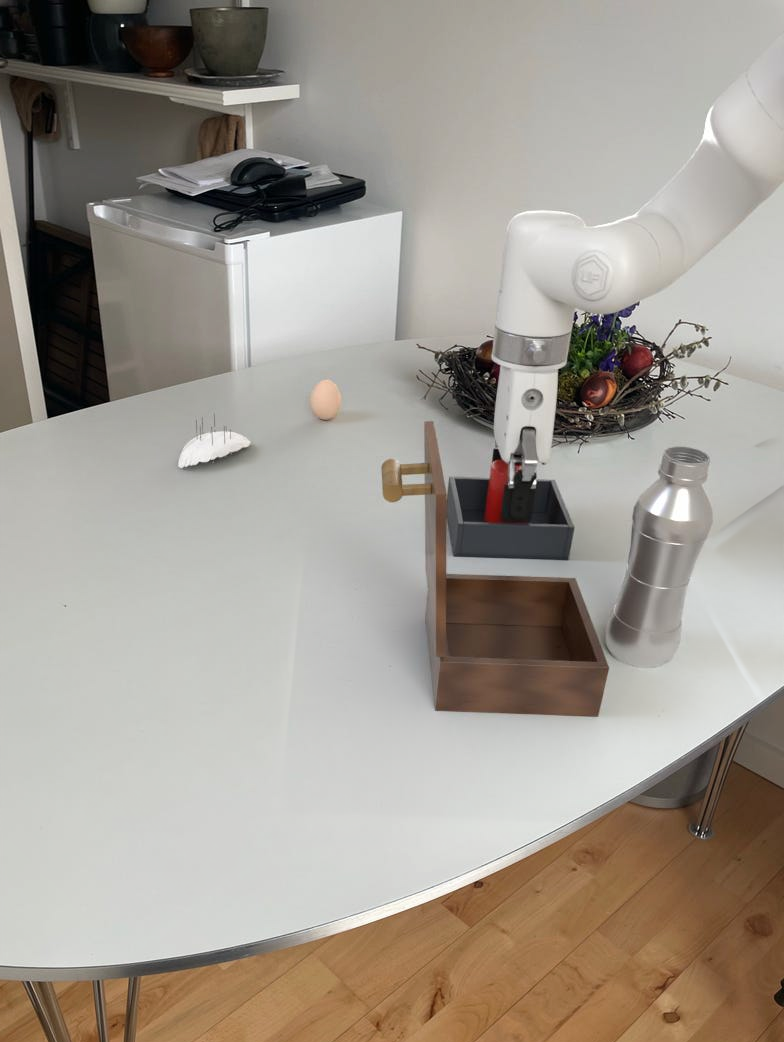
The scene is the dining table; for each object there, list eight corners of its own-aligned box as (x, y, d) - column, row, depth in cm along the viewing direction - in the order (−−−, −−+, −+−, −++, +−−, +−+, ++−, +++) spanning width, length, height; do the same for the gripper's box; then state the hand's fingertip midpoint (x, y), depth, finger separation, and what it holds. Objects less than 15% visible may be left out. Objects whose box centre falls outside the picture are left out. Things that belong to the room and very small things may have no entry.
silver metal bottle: (652, 635, 93) (702, 437, 82) (687, 675, 87) (746, 469, 76) (588, 640, 92) (630, 441, 81) (620, 682, 86) (669, 474, 75)
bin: (549, 514, 114) (554, 479, 112) (567, 564, 104) (574, 527, 102) (445, 511, 115) (449, 476, 112) (454, 561, 105) (458, 523, 102)
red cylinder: (520, 524, 111) (530, 458, 107) (526, 543, 107) (537, 476, 103) (480, 522, 111) (488, 457, 107) (485, 541, 107) (493, 474, 103)
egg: (303, 418, 140) (303, 379, 137) (325, 411, 142) (326, 373, 139) (324, 427, 137) (325, 387, 134) (347, 419, 140) (348, 380, 136)
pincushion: (234, 439, 133) (233, 399, 130) (264, 451, 129) (264, 410, 126) (165, 463, 126) (162, 421, 123) (195, 477, 122) (193, 434, 119)
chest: (565, 629, 93) (575, 577, 90) (596, 724, 81) (609, 667, 78) (424, 625, 94) (429, 572, 91) (434, 718, 82) (440, 661, 78)
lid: (433, 420, 82) (379, 423, 83) (446, 493, 70) (383, 496, 71) (434, 568, 90) (384, 570, 91) (445, 656, 78) (388, 659, 79)
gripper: (585, 374, 90) (557, 538, 100) (553, 322, 105) (531, 470, 114) (504, 372, 90) (483, 536, 100) (483, 321, 105) (467, 468, 114)
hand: (509, 500), depth 107 cm, fingers open, 9 cm apart
